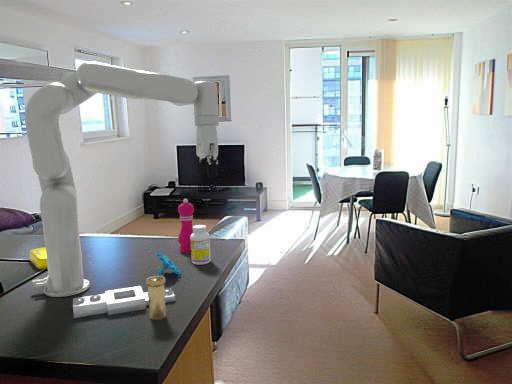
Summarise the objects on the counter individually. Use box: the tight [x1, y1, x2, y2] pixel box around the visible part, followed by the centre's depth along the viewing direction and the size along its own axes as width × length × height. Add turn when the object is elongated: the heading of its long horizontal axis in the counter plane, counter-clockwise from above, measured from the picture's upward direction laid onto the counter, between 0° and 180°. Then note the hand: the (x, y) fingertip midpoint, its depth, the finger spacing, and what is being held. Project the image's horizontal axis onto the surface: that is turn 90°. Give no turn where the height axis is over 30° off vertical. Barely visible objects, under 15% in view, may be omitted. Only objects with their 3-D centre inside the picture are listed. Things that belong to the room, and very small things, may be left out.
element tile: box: [29, 246, 83, 270], centre depth 163 cm, size 15×15×5 cm
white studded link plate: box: [72, 285, 176, 319], centre depth 123 cm, size 26×10×4 cm, turn 111°
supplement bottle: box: [190, 224, 211, 266], centre depth 157 cm, size 7×7×13 cm
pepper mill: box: [177, 198, 195, 254], centre depth 170 cm, size 7×7×20 cm
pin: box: [145, 275, 167, 321], centre depth 114 cm, size 5×5×10 cm
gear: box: [155, 251, 182, 276], centre depth 145 cm, size 11×6×10 cm
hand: (208, 175), depth 146 cm, fingers open, 9 cm apart
